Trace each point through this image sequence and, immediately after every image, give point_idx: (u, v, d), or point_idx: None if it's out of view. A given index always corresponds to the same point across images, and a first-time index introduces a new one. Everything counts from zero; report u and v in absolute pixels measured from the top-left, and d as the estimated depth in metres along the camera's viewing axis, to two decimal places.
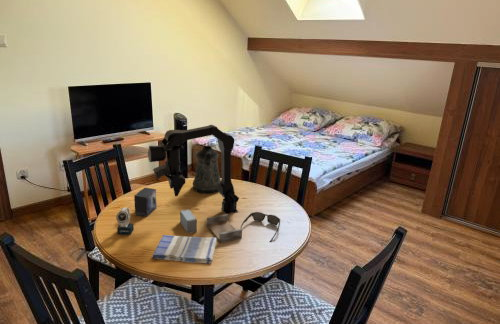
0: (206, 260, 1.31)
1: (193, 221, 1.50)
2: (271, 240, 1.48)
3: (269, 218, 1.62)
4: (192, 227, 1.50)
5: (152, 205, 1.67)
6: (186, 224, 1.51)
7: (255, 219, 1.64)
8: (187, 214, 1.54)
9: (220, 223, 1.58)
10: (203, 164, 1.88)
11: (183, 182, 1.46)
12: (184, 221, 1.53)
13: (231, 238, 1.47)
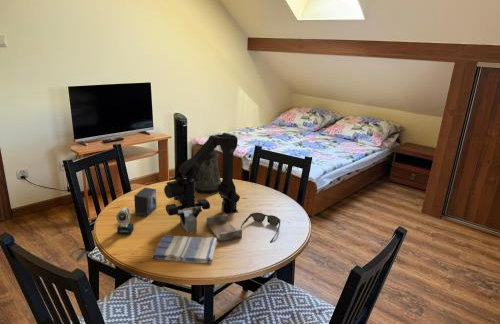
0: (206, 260, 1.31)
1: (193, 221, 1.50)
2: (271, 241, 1.47)
3: (269, 219, 1.62)
4: (192, 227, 1.50)
5: (152, 205, 1.67)
6: (186, 224, 1.51)
7: (255, 220, 1.64)
8: (187, 214, 1.54)
9: (220, 223, 1.58)
10: (203, 164, 1.88)
11: (168, 213, 1.47)
12: None
13: (231, 238, 1.47)
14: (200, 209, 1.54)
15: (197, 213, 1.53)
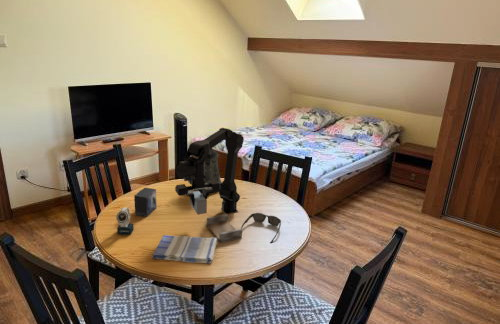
0: (206, 260, 1.31)
1: (203, 202, 1.46)
2: (272, 241, 1.47)
3: (270, 219, 1.61)
4: (202, 208, 1.47)
5: (152, 205, 1.67)
6: (196, 205, 1.47)
7: (256, 220, 1.63)
8: (197, 195, 1.51)
9: (220, 223, 1.58)
10: None
11: (178, 193, 1.43)
12: None
13: (231, 238, 1.47)
14: (210, 190, 1.50)
15: (207, 194, 1.49)
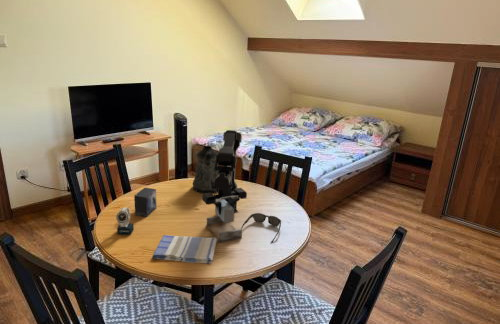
0: (206, 260, 1.31)
1: (230, 210, 1.45)
2: (272, 241, 1.47)
3: (270, 219, 1.61)
4: (229, 217, 1.46)
5: (152, 205, 1.67)
6: (223, 213, 1.46)
7: (256, 220, 1.63)
8: (223, 203, 1.50)
9: (220, 223, 1.58)
10: (203, 164, 1.88)
11: (206, 202, 1.42)
12: None
13: (231, 238, 1.47)
14: (237, 198, 1.50)
15: (234, 202, 1.48)
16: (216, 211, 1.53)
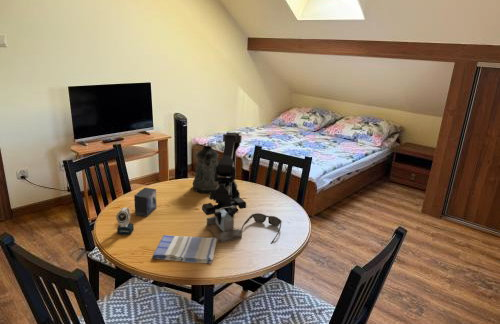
0: (206, 260, 1.31)
1: (230, 221, 1.47)
2: (272, 242, 1.47)
3: (270, 219, 1.61)
4: (229, 227, 1.47)
5: (152, 205, 1.67)
6: (223, 224, 1.48)
7: (256, 220, 1.63)
8: (223, 214, 1.51)
9: None
10: (203, 164, 1.88)
11: (205, 212, 1.44)
12: None
13: (231, 238, 1.47)
14: (236, 208, 1.51)
15: (233, 212, 1.50)
16: (216, 221, 1.55)
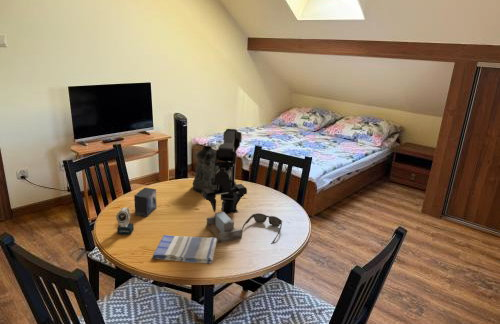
0: (206, 260, 1.31)
1: (230, 224, 1.47)
2: (273, 242, 1.46)
3: (271, 219, 1.61)
4: (229, 230, 1.48)
5: (152, 205, 1.67)
6: (223, 227, 1.48)
7: (256, 220, 1.63)
8: (223, 217, 1.52)
9: None
10: (203, 164, 1.88)
11: (206, 197, 1.41)
12: (220, 224, 1.50)
13: (231, 238, 1.47)
14: None
15: (239, 197, 1.48)
16: (216, 224, 1.55)
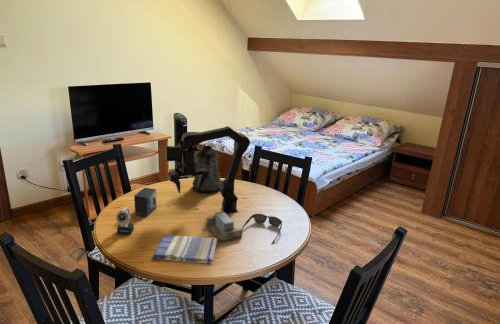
0: (206, 260, 1.31)
1: (230, 224, 1.47)
2: (273, 242, 1.46)
3: (271, 220, 1.61)
4: (229, 230, 1.48)
5: (152, 205, 1.67)
6: (223, 227, 1.48)
7: (256, 221, 1.63)
8: (223, 217, 1.52)
9: None
10: (203, 164, 1.88)
11: (170, 179, 1.55)
12: (220, 224, 1.50)
13: (231, 238, 1.47)
14: None
15: (202, 180, 1.62)
16: (216, 224, 1.55)
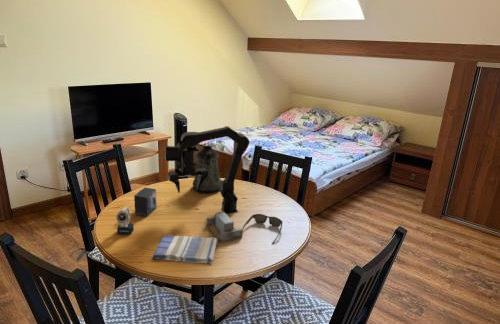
0: (206, 260, 1.31)
1: (230, 224, 1.47)
2: (273, 242, 1.46)
3: (271, 220, 1.60)
4: (229, 230, 1.48)
5: (152, 205, 1.67)
6: (223, 227, 1.48)
7: (257, 221, 1.62)
8: (223, 217, 1.52)
9: None
10: (203, 164, 1.88)
11: (169, 179, 1.55)
12: (220, 224, 1.50)
13: (231, 238, 1.47)
14: None
15: (201, 180, 1.62)
16: (216, 224, 1.55)
